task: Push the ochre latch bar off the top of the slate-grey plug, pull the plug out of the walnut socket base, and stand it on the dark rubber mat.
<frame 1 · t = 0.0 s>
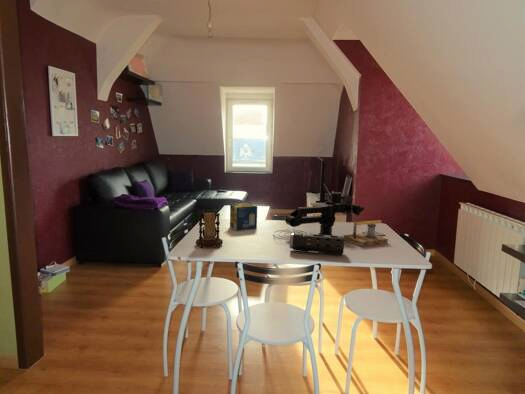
hand: (360, 207, 245), 17 cm above the table, tool horizontal, fingers open, 9 cm apart
latch bar: (367, 229, 224), point 7 cm above the table, hinge at 0.0°
rubber mat: (373, 234, 242), on the table
wooden hourglass: (209, 245, 209), on the table
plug: (370, 240, 227), resting in socket base
socket base: (365, 241, 225), on the table
protein box: (243, 228, 250), on the table
muzzle brake: (316, 253, 200), on the table
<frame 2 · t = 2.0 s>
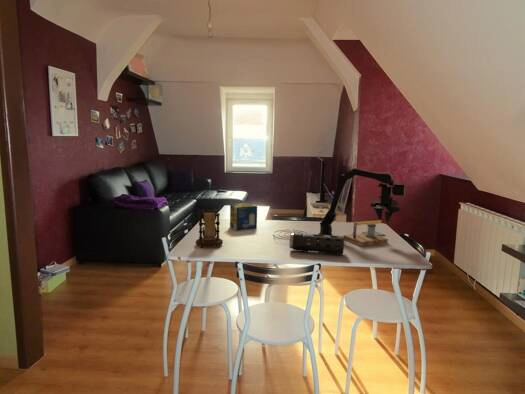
hand: (383, 221, 221), 13 cm above the table, tool pointing down, fingers open, 6 cm apart
nothing on the table moved.
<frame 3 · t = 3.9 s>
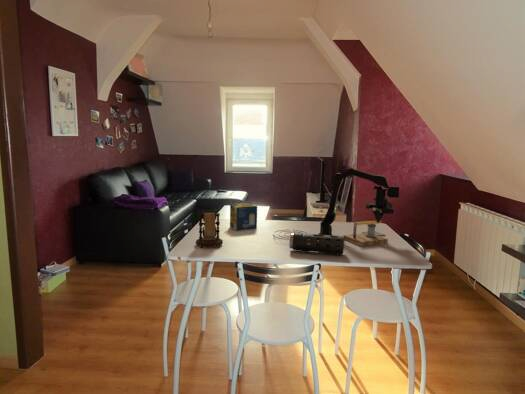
hand: (378, 222, 225), 11 cm above the table, tool pointing down, fingers closed
latch bar: (367, 229, 224), point 7 cm above the table, hinge at 0.1°, touching gripper
everything else where it was.
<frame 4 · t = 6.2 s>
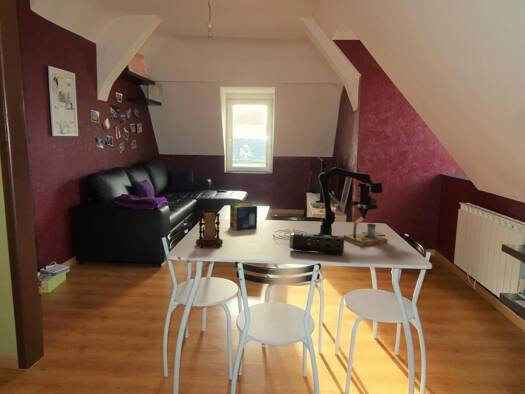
hand: (363, 218, 234), 12 cm above the table, tool pointing down, fingers closed
latch bar: (358, 227, 228), point 7 cm above the table, hinge at 40.1°, touching gripper
everything else where it was.
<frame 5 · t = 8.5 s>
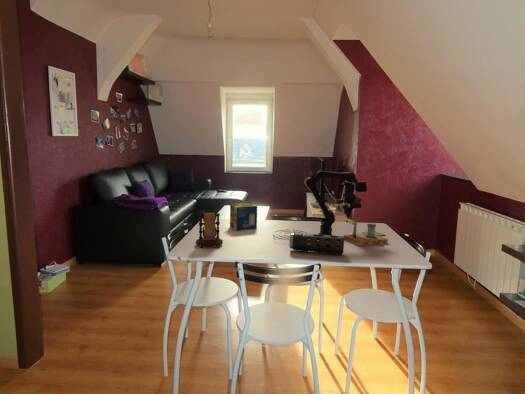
hand: (348, 216, 236), 12 cm above the table, tool pointing down, fingers closed
latch bar: (349, 226, 229), point 7 cm above the table, hinge at 74.1°
everything else where it was.
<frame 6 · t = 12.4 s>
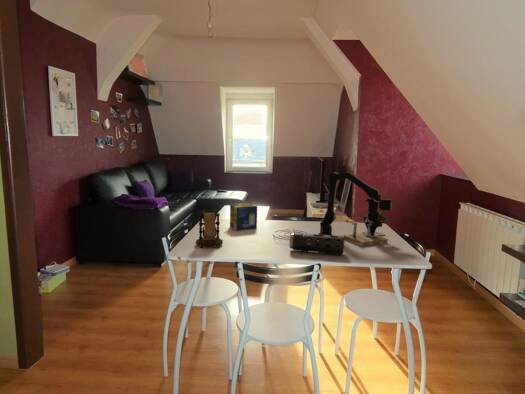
hand: (370, 234, 226), 4 cm above the table, tool pointing down, fingers closed on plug, 4 cm apart
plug: (370, 240, 227), resting in socket base, touching gripper
everything else where it was.
when the fingers open (6 cm above the table, at t = 17.0 s): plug drops 1 cm, resting on rubber mat.
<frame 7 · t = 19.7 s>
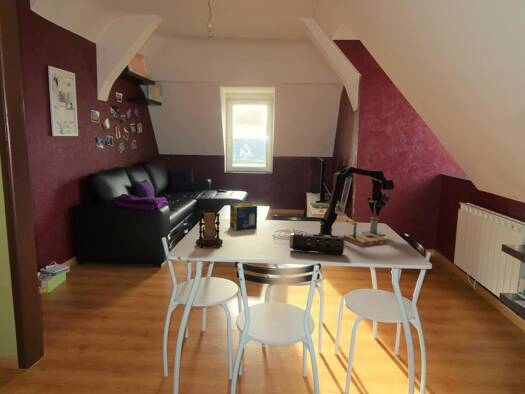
hand: (374, 214, 240), 13 cm above the table, tool pointing down, fingers open, 9 cm apart
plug: (373, 233, 242), point 1 cm above the table, touching rubber mat
everything else where it was.
at the end: latch bar at +74° (first picture: +0°); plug inside the target area on the rubber mat (0.0 cm from its centre), point 0.6 cm above the rubber mat's base; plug tilted 0° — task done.
